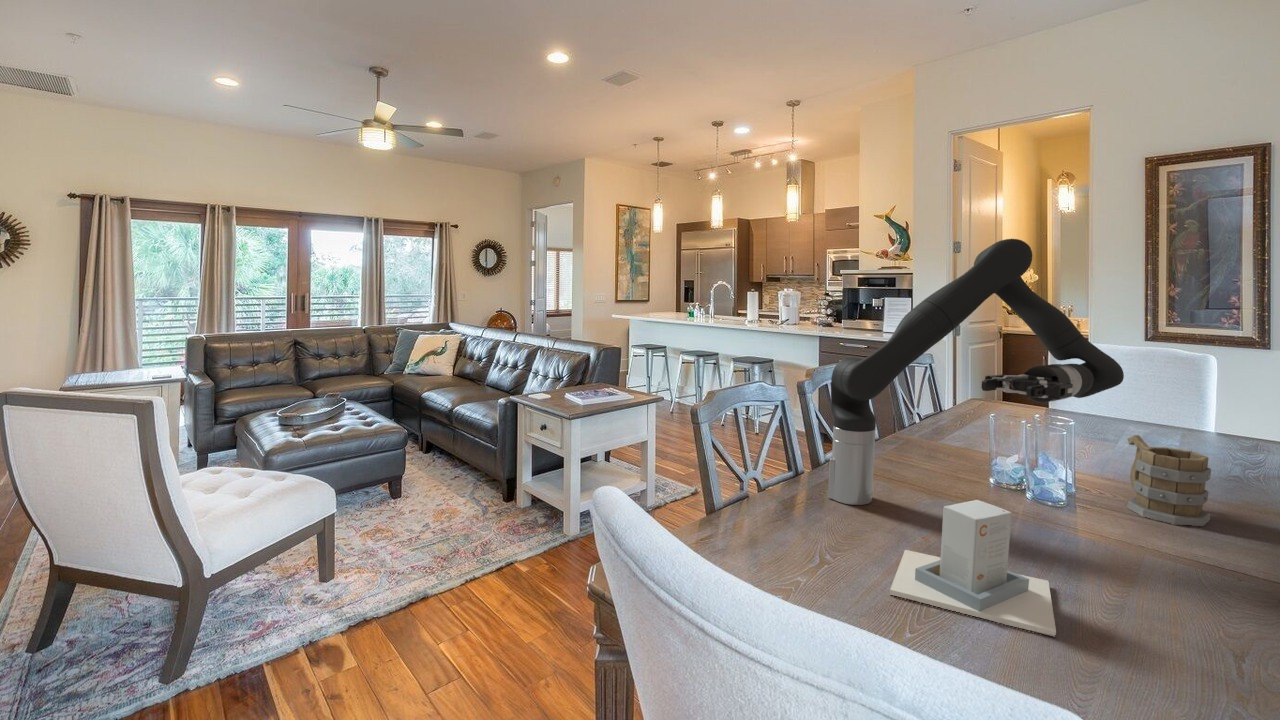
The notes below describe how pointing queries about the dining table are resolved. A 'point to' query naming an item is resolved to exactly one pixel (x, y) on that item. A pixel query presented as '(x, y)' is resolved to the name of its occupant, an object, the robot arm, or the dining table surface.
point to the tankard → (1169, 484)
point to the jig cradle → (1007, 603)
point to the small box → (975, 545)
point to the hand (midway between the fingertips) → (1005, 388)
